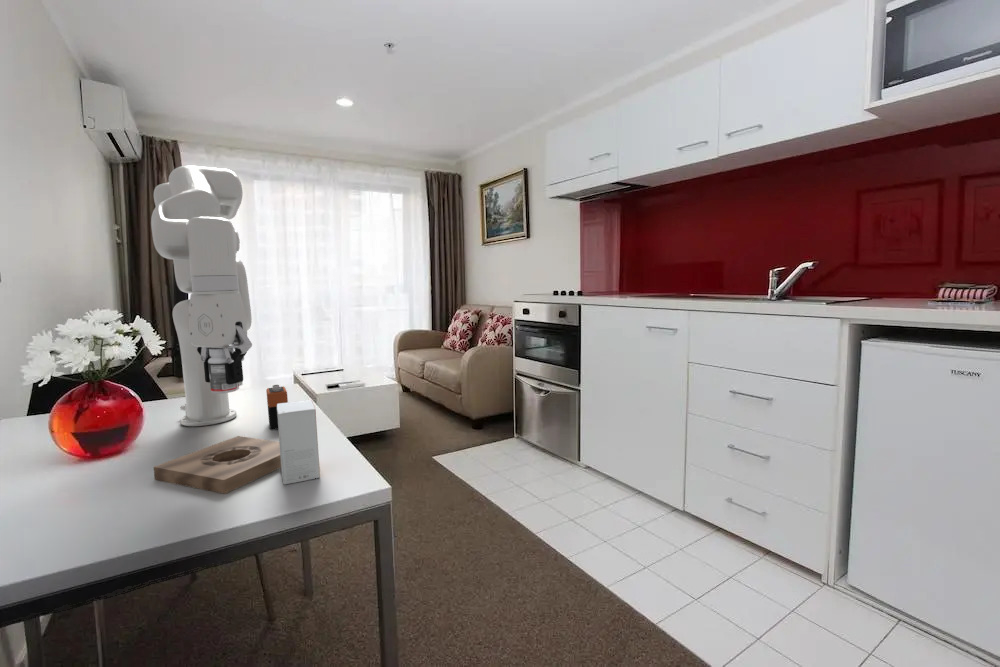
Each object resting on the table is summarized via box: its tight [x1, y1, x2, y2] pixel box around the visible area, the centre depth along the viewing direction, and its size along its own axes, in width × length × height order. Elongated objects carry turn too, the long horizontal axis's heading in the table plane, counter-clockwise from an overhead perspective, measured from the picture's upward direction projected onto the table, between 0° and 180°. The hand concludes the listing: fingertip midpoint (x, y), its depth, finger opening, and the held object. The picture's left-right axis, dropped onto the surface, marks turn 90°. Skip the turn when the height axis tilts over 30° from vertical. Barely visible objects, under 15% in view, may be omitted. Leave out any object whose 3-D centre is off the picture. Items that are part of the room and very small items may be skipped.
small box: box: [277, 399, 321, 485], centre depth 91 cm, size 8×6×13 cm
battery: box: [266, 384, 289, 430], centre depth 121 cm, size 4×7×10 cm, turn 28°
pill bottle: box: [208, 348, 240, 394], centre depth 93 cm, size 5×5×8 cm
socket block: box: [153, 435, 281, 495], centre depth 95 cm, size 18×18×2 cm
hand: (224, 380), depth 93 cm, fingers closed on pill bottle, 4 cm apart
